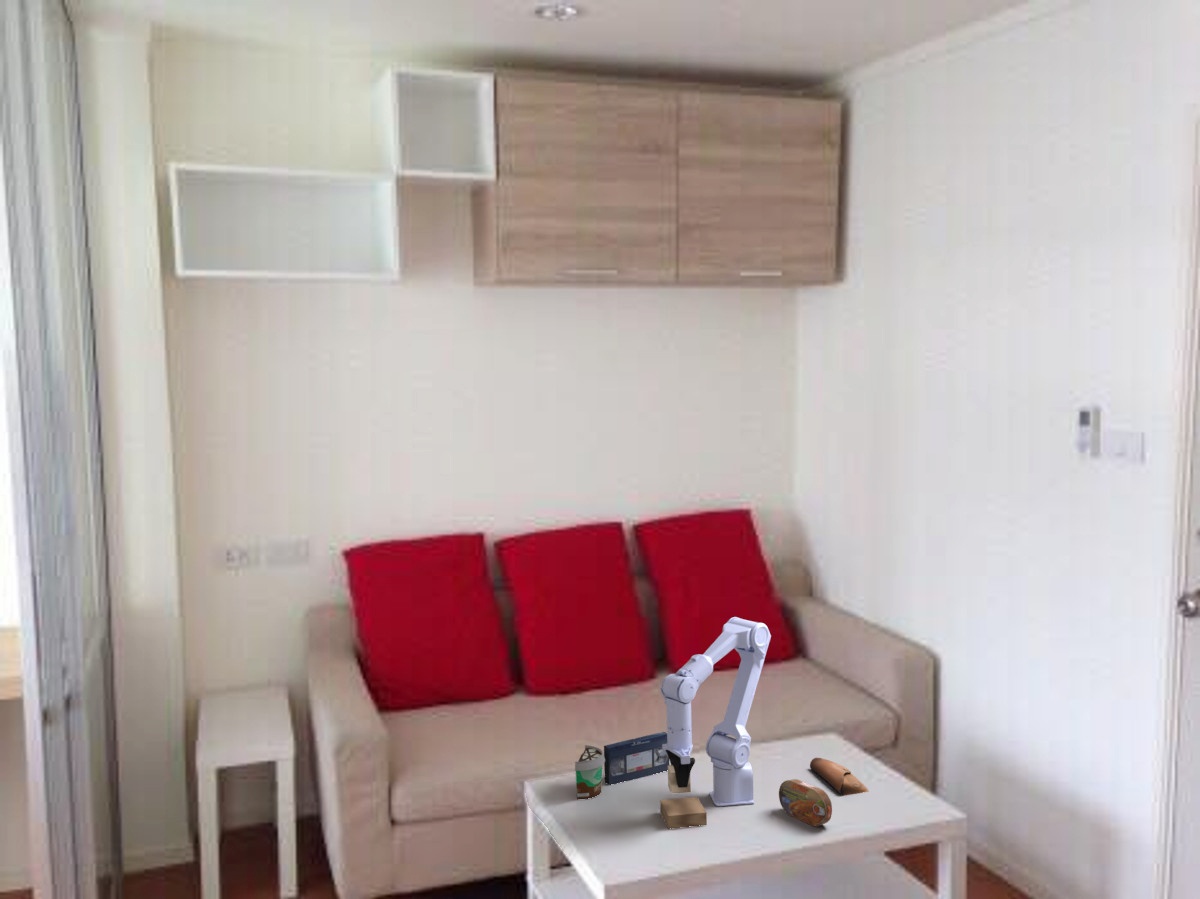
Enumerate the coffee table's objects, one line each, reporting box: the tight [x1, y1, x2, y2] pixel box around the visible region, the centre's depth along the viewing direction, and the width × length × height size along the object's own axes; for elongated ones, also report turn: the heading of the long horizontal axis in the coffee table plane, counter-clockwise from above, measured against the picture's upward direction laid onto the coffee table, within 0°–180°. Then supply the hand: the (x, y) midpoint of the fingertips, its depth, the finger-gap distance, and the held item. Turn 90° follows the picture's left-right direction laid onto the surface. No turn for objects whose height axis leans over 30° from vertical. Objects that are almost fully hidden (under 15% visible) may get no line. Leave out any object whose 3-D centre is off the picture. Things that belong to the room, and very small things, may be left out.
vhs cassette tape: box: [603, 731, 670, 786], centre depth 285 cm, size 18×3×10 cm, turn 118°
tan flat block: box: [659, 796, 708, 830], centre depth 260 cm, size 9×9×4 cm
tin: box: [778, 778, 833, 827], centre depth 258 cm, size 15×3×8 cm, turn 35°
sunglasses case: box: [809, 757, 870, 797], centre depth 280 cm, size 18×7×7 cm
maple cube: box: [667, 764, 692, 795], centre depth 259 cm, size 4×4×5 cm
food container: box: [574, 744, 605, 800], centre depth 276 cm, size 12×6×10 cm, turn 168°
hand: (680, 782), depth 259 cm, fingers closed on maple cube, 4 cm apart
